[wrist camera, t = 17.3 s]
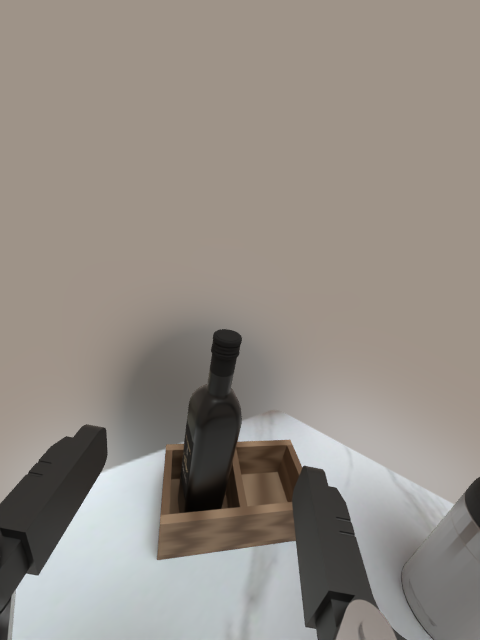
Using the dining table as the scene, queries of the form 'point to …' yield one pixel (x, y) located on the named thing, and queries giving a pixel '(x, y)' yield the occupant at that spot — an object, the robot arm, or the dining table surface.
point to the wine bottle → (211, 431)
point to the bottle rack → (233, 503)
